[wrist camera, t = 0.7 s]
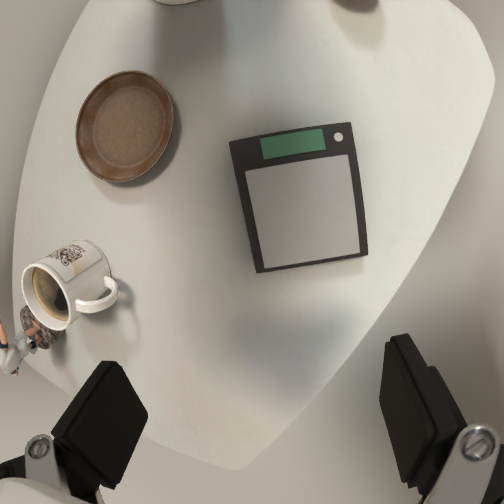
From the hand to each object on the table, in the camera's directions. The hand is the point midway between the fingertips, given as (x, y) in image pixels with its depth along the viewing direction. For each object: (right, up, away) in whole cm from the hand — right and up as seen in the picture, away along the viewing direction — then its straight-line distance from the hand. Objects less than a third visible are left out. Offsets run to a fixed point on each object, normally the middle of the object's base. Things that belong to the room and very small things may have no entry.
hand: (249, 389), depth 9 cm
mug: (-25, +1, +32) cm, 41 cm away
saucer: (-16, +21, +25) cm, 36 cm away
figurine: (-40, -8, +37) cm, 55 cm away
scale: (+6, +11, +26) cm, 29 cm away
